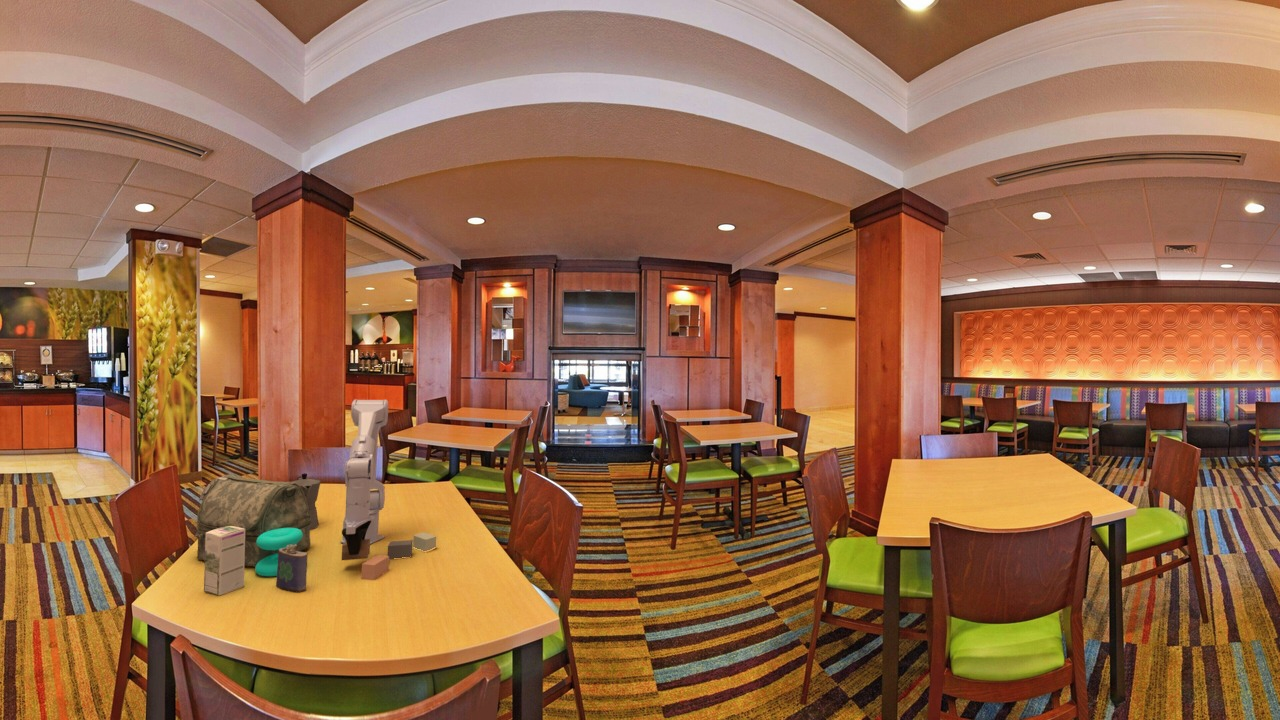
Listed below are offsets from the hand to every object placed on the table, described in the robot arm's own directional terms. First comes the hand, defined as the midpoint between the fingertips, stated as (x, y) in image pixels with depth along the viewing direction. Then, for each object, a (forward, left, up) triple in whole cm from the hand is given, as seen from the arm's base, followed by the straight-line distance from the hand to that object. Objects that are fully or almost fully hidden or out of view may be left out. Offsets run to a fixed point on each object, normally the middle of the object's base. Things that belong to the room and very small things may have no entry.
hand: (356, 551), depth 132 cm
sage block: (+9, +17, -5) cm, 20 cm away
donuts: (-17, -7, -5) cm, 19 cm away
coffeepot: (-40, +21, -5) cm, 45 cm away
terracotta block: (+8, -2, -5) cm, 9 cm away
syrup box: (-20, -19, -5) cm, 28 cm away
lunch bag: (-33, -1, -5) cm, 34 cm away
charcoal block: (+6, +10, -5) cm, 12 cm away
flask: (-6, -14, -5) cm, 16 cm away
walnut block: (0, 0, -2) cm, 2 cm away
